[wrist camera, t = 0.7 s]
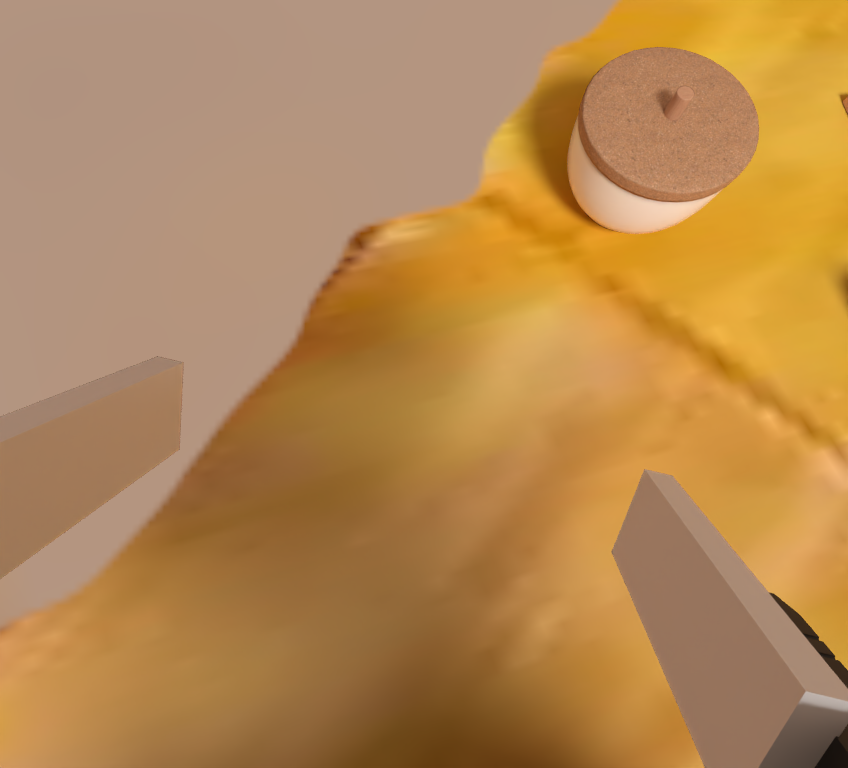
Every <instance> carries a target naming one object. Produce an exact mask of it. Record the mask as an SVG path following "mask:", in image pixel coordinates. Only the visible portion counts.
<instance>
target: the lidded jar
mask: <svg viewBox="0 0 848 768" xmlns="http://www.w3.org/2000/svg"><path fill="white" fill-rule="evenodd" d="M758 136H759V124H758V115H757V112H756V109H755V106H754V104H753V102H752V100H751V98H750V96H749V94H748V92H747V91H746V90H745V88H744V87H743V86H742V84H741V83H740V82H739V81H738V80H737V79H736V78H735V77H734V76H733V75H732V74H731V73H730V72H728V71H727V70H726V69H724V68H723V67H722V66H720V65H719V64H717V63H715V62H714V61H712V60H710V59H708V58H706V57H703V56H701V55H699V54H696V53H693V52H689V51H686V50H681V49H675V48H664V47H655V48H645V49H640V50H635V51H631V52H629V53H626V54H624V55H621V56H619V57H617V58H615V59H614V60H612V61H610V62H609V63H607V64H606V65H605V66H604V67H602V68H601V69H600V70H599V71H598V72H597V73H596V74H595V76H594V77H593V78H592V80H591V81H590V83H589V85H588V86H587V89H586V91H585V94H584V96H583V99H582V102H581V104H580V108H579V114H578V117H577V119H576V122H575V125H574V128H573V131H572V135H571V139H570V144H569V150H568V160H567V169H568V178H569V183H570V187H571V190H572V192H573V195H574V197H575V199H576V201H577V202H578V204H579V206H580V207H581V208H582V209H583V211H584V212H585V213H586V214H587V215H588V216H589V217H590V218H591V219H593V220H594V221H595V222H596V223H598V224H599V225H601V226H603V227H605V228H607V229H610V230H614V231H617V232H622V233H627V234H643V233H652V232H656V231H661V230H663V229H666V228H669V227H671V226H674V225H676V224H678V223H680V222H682V221H683V220H685V219H687V218H688V217H690V216H691V215H693V214H695V213H696V212H697V211H699V210H700V209H701V208H703V207H704V206H705V205H706V204H707V203H708V202H710V201H711V200H712V199H713V198H714V197H715V196H716V195H717V194H718V193H719V192H720V191H721V190H722V189H723V188H725V187H726V186H727V185H729V184H730V183H731V182H732V181H733V180H734V179H735V178H736V177H737V176H738V175H739V174H740V173H741V172H742V171H743V170H744V169H745V167H746V166H747V165H748V164H749V162H750V161H751V159H752V157H753V155H754V153H755V151H756V147H757V143H758Z"/></svg>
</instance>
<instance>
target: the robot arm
mask: <svg viewBox="0 0 848 768" xmlns="http://www.w3.org/2000/svg"><path fill="white" fill-rule="evenodd" d="M182 384H183V362H179V361H175V360H171V359H166V358H162V357H158V356H157V357H155V358H152V359H150V360H147V361H144V362H142V363H139V364H137V365H134V366H131V367H129V368H126V369H124V370H121V371H118V372H116V373H113V374H110V375H108V376H105V377H103V378H100V379H97V380H95V381H92V382H89V383H87V384H85V385H82V386H79V387H76V388H74V389H71V390H69V391H66V392H63V393H61V394H58V395H55V396H53V397H50V398H48V399H45V400H42V401H40V402H37V403H35V404H32V405H29V406H27V407H24V408H22V409H19V410H16V411H14V412H11V413H9V414H6V415H3V416H1V417H0V579H1V578H2V577H4V576H5V575H7V574H8V573H9V572H10V571H12V570H13V569H15V568H16V567H17V566H19V565H20V564H22V563H23V562H24V561H26V560H27V559H29V558H30V557H31V556H33V555H34V554H35V553H37V552H38V551H40V550H41V549H42V548H44V547H45V546H47V545H48V544H49V543H51V542H52V541H53V540H55V539H56V538H57V537H59V536H60V535H62V534H63V533H64V532H66V531H67V530H69V529H70V528H71V527H72V526H74V525H75V524H77V523H78V522H79V521H81V520H82V519H84V518H85V517H86V516H88V515H89V514H91V513H92V512H93V511H95V510H96V509H97V508H99V507H100V506H102V505H103V504H104V503H106V502H107V501H108V500H110V499H111V498H113V497H114V496H115V495H117V494H118V493H120V492H121V491H122V490H124V489H125V488H127V487H128V486H129V485H131V484H132V483H133V482H135V481H136V480H137V479H139V478H140V477H142V476H143V475H144V474H146V473H147V472H149V471H150V470H151V469H153V468H154V467H155V466H157V465H158V464H159V463H161V462H162V461H163V460H165V459H167V458H168V457H169V456H171V455H172V454H173V453H175V452H176V451H178V450H179V448H180V427H181V405H182ZM612 554H613V556H614V559H615V561H616V563H617V566H618V568H619V570H620V573H621V575H622V577H623V579H624V582H625V584H626V586H627V589H628V591H629V593H630V596H631V598H632V600H633V603H634V605H635V607H636V609H637V612H638V614H639V616H640V619H641V621H642V623H643V626H644V628H645V630H646V633H647V635H648V637H649V639H650V642H651V644H652V646H653V649H654V651H655V653H656V656H657V658H658V660H659V663H660V665H661V667H662V669H663V672H664V674H665V676H666V679H667V681H668V683H669V686H670V688H671V690H672V693H673V695H674V697H675V700H676V702H677V704H678V706H679V709H680V711H681V713H682V716H683V718H684V720H685V723H686V725H687V727H688V730H689V732H690V734H691V736H692V739H693V741H694V743H695V746H696V748H697V750H698V753H699V755H700V757H701V760H702V762H703V764H704V766H705V768H848V670H847V669H846V668H845V667H844V666H843V665H842V663H841V662H840V661H838V660H835V655H834V654H833V653H832V652H831V651H830V649H829V648H828V647H827V646H826V645H825V644H824V642H822V641H819V637H818V635H817V634H816V633H815V632H814V631H813V630H812V628H811V627H810V626H809V625H808V624H807V623H806V621H805V620H804V619H803V618H802V617H801V616H800V615H799V614H798V613H797V612H796V611H794V610H793V609H792V608H791V607H790V606H788V605H787V604H786V603H785V602H783V601H782V600H781V599H780V598H778V597H777V596H776V595H775V594H773V593H769V592H768V591H767V590H766V589H765V588H764V586H763V585H762V584H761V583H760V582H759V580H758V579H757V578H756V577H755V575H754V574H753V573H752V572H751V571H750V569H749V568H748V567H747V566H746V565H745V563H744V562H743V561H742V560H741V558H740V557H739V556H738V555H737V554H736V552H735V551H734V550H733V549H732V548H731V546H730V545H729V544H728V543H727V541H726V540H725V539H724V538H723V537H722V535H721V534H720V533H719V532H718V531H717V529H716V528H715V527H714V526H713V524H712V523H711V522H710V521H709V520H708V518H707V517H706V516H705V515H704V514H703V512H702V511H701V510H700V509H699V507H698V506H697V505H696V504H695V503H694V501H693V500H692V499H691V498H690V497H689V495H688V494H687V493H686V492H685V490H684V489H683V488H682V487H681V486H680V484H679V483H678V482H677V481H676V480H675V478H674V477H673V476H671V475H667V474H663V473H658V472H654V471H650V470H645V469H644V472H643V474H642V477H641V479H640V482H639V485H638V487H637V490H636V492H635V495H634V497H633V500H632V502H631V505H630V507H629V510H628V512H627V515H626V517H625V520H624V522H623V525H622V527H621V530H620V532H619V535H618V537H617V540H616V542H615V545H614V547H613V550H612Z"/></svg>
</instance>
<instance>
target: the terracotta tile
mask: <svg viewBox="0 0 848 768" xmlns="http://www.w3.org/2000/svg"><path fill="white" fill-rule="evenodd" d="M843 104H844V106H845V109H846V111H847V113H848V97H847V98H846V99H845V100H844V101H843Z"/></svg>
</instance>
